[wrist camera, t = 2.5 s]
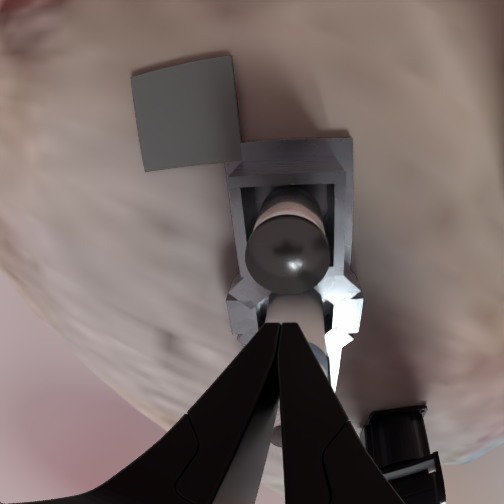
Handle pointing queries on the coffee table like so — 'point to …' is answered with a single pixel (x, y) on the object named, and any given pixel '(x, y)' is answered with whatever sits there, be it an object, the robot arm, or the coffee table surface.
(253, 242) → the plunger
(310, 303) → the cartridge
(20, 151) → the coffee table surface
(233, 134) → the rubber pad
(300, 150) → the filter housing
